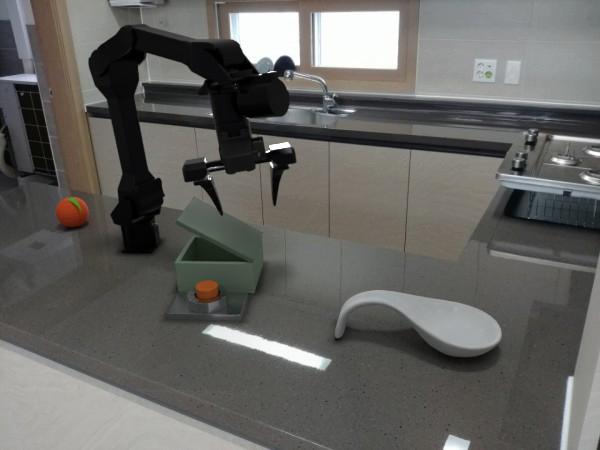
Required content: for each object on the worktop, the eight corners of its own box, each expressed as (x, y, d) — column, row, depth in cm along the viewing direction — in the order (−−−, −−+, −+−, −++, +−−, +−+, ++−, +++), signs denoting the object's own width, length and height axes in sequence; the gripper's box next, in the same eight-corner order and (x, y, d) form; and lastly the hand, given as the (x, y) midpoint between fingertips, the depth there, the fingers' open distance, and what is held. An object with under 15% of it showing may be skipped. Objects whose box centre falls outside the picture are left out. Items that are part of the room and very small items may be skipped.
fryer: (178, 292, 95) (174, 262, 92) (195, 262, 105) (192, 235, 103) (254, 293, 93) (252, 264, 91) (263, 263, 104) (262, 236, 102)
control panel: (167, 319, 87) (165, 303, 85) (179, 297, 93) (177, 281, 92) (240, 321, 86) (239, 305, 84) (248, 298, 92) (247, 283, 91)
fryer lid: (174, 223, 89) (176, 220, 89) (192, 199, 100) (194, 196, 100) (251, 263, 91) (253, 259, 91) (261, 235, 102) (263, 232, 101)
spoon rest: (494, 326, 83) (499, 286, 80) (504, 375, 72) (511, 330, 69) (341, 312, 87) (341, 273, 84) (330, 356, 77) (330, 313, 74)
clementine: (99, 226, 123) (94, 196, 120) (70, 235, 118) (64, 205, 115) (81, 217, 128) (76, 189, 125) (53, 227, 123) (47, 198, 120)
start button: (194, 300, 87) (192, 290, 86) (199, 289, 90) (198, 280, 89) (215, 300, 86) (214, 291, 86) (220, 289, 90) (219, 280, 89)
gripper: (170, 137, 80) (192, 235, 84) (293, 116, 81) (308, 213, 86) (176, 127, 90) (195, 215, 95) (285, 109, 92) (298, 196, 97)
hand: (248, 210), depth 93 cm, fingers open, 9 cm apart
